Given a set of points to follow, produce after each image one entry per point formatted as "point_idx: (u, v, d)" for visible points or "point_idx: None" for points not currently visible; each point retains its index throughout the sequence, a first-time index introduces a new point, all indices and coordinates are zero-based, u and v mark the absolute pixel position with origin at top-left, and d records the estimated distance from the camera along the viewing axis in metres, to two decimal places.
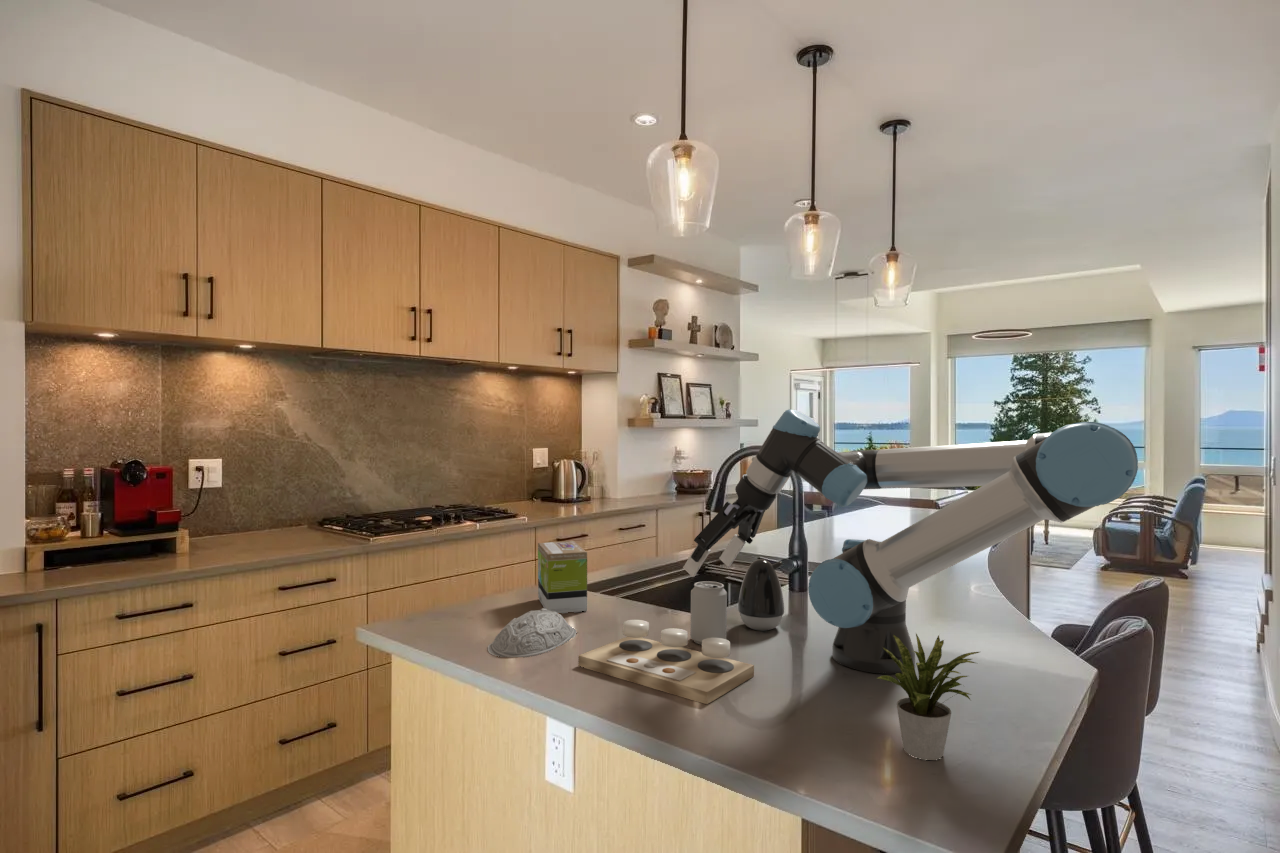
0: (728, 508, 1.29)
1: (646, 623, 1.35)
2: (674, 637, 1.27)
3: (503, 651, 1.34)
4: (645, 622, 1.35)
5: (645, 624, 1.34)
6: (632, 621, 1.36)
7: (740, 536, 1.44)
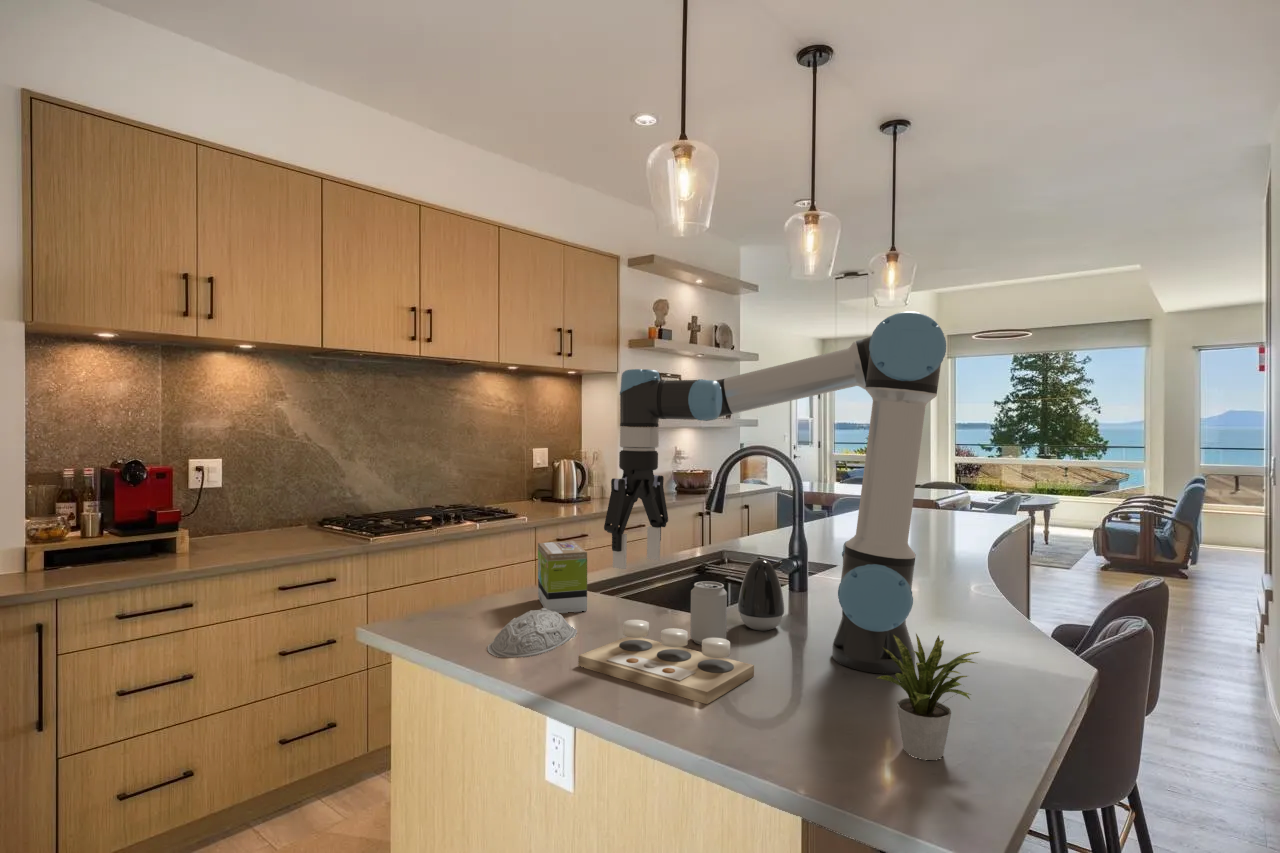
0: (615, 483, 1.29)
1: (646, 623, 1.35)
2: (674, 637, 1.27)
3: (503, 651, 1.34)
4: (645, 622, 1.35)
5: (645, 624, 1.34)
6: (632, 621, 1.36)
7: (653, 525, 1.39)
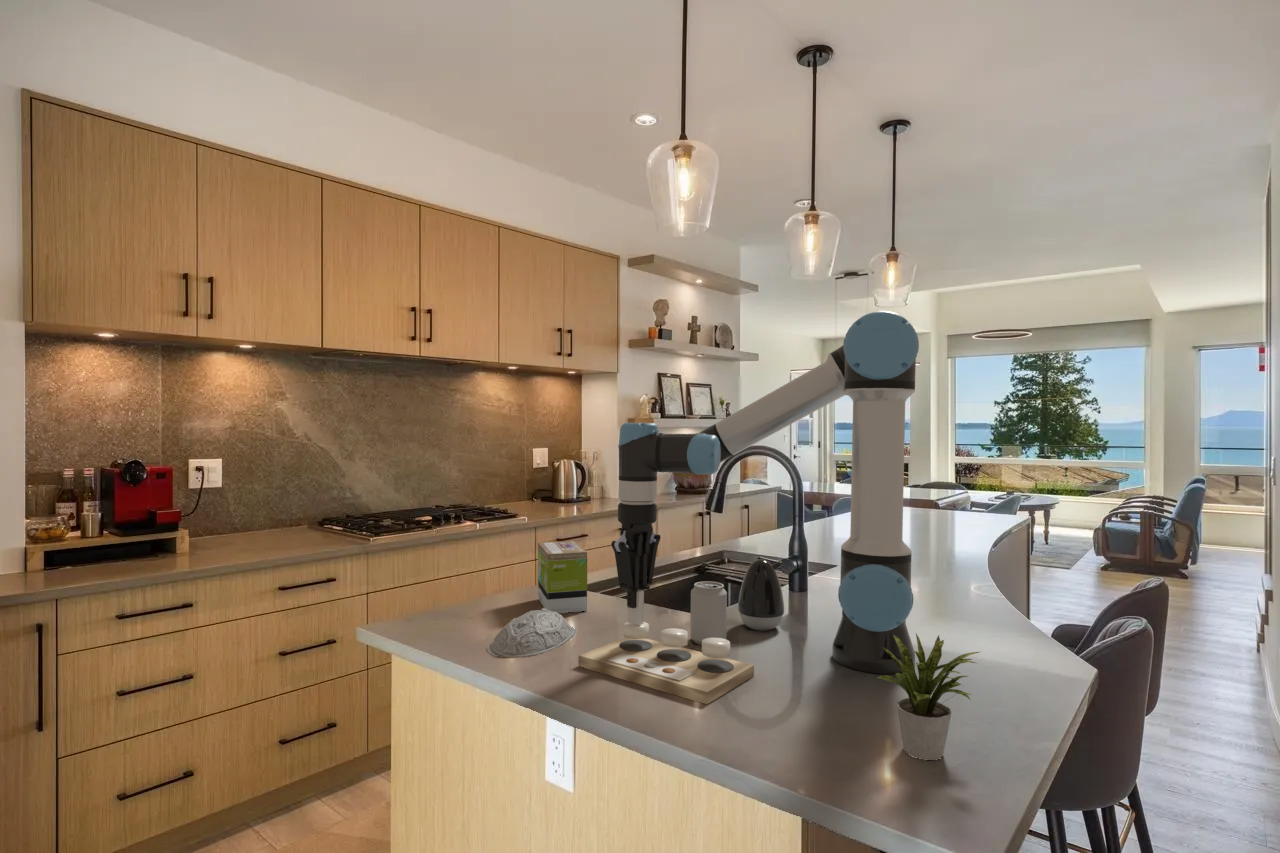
0: (616, 547, 1.30)
1: (646, 624, 1.35)
2: (674, 637, 1.27)
3: (502, 651, 1.34)
4: (645, 623, 1.35)
5: (645, 625, 1.34)
6: None
7: None
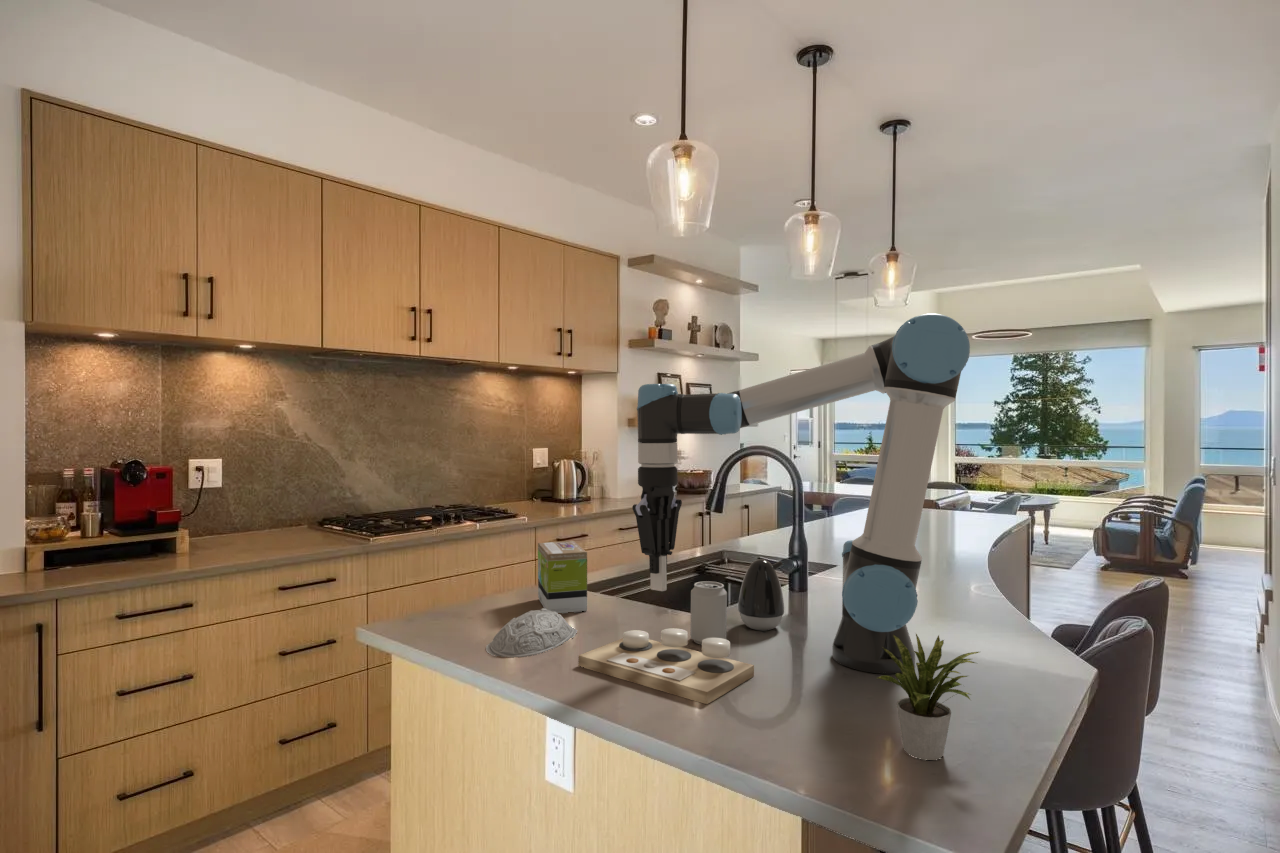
0: (637, 511, 1.27)
1: (646, 634, 1.35)
2: (674, 637, 1.27)
3: (501, 651, 1.34)
4: (645, 633, 1.35)
5: (645, 635, 1.34)
6: (632, 632, 1.36)
7: None
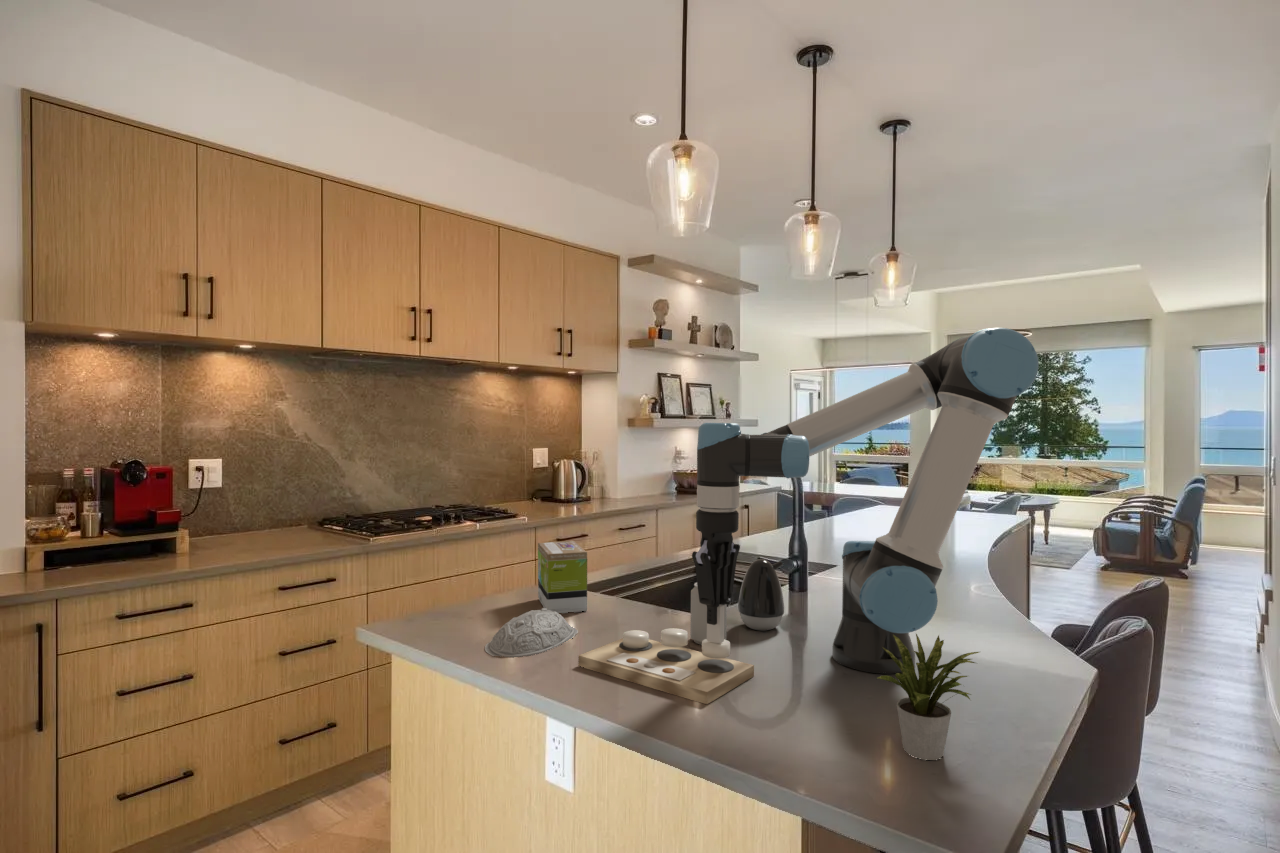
0: (698, 559, 1.19)
1: (646, 634, 1.35)
2: (674, 637, 1.27)
3: (499, 650, 1.35)
4: (645, 633, 1.35)
5: (645, 635, 1.34)
6: (632, 632, 1.36)
7: None
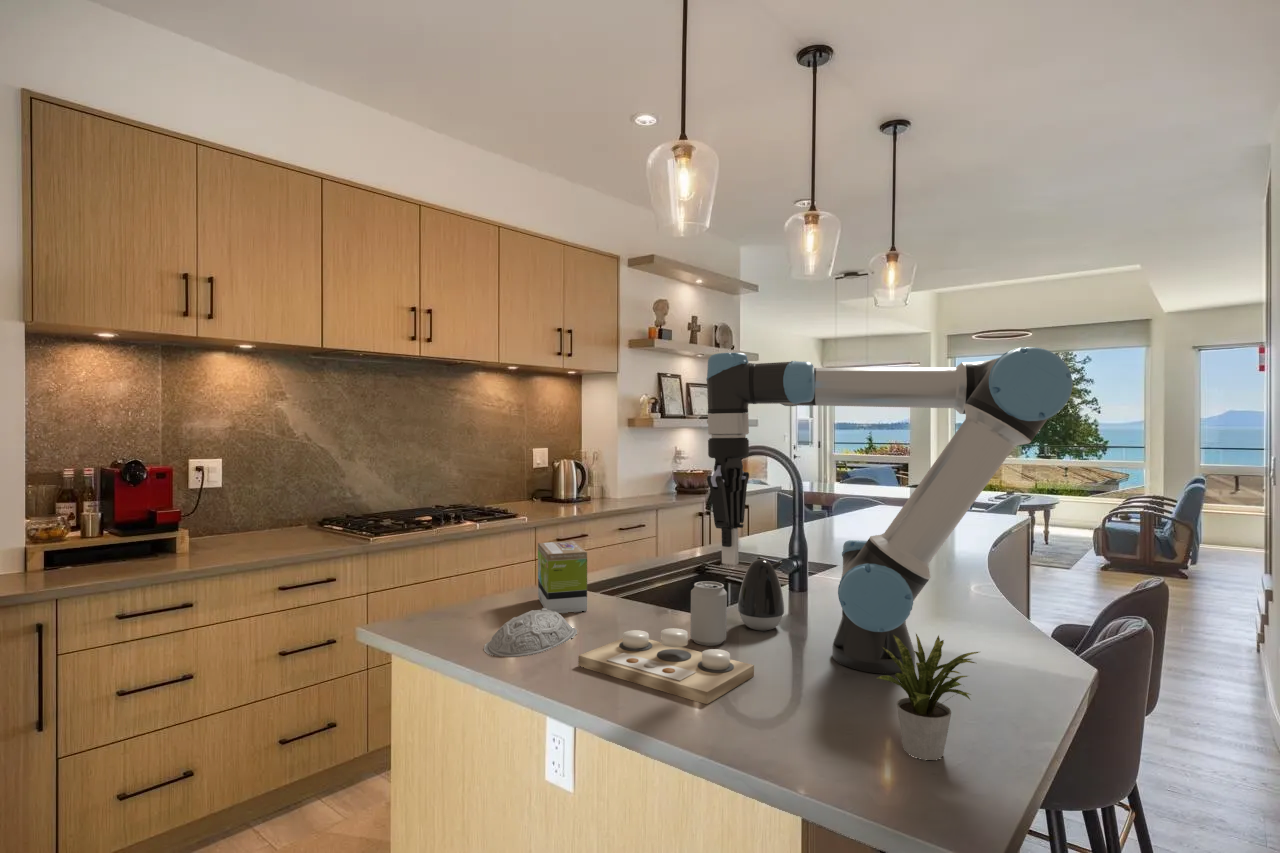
0: (713, 482, 1.24)
1: (646, 634, 1.35)
2: (674, 637, 1.27)
3: (497, 650, 1.35)
4: (645, 633, 1.35)
5: (645, 635, 1.34)
6: (632, 632, 1.36)
7: None
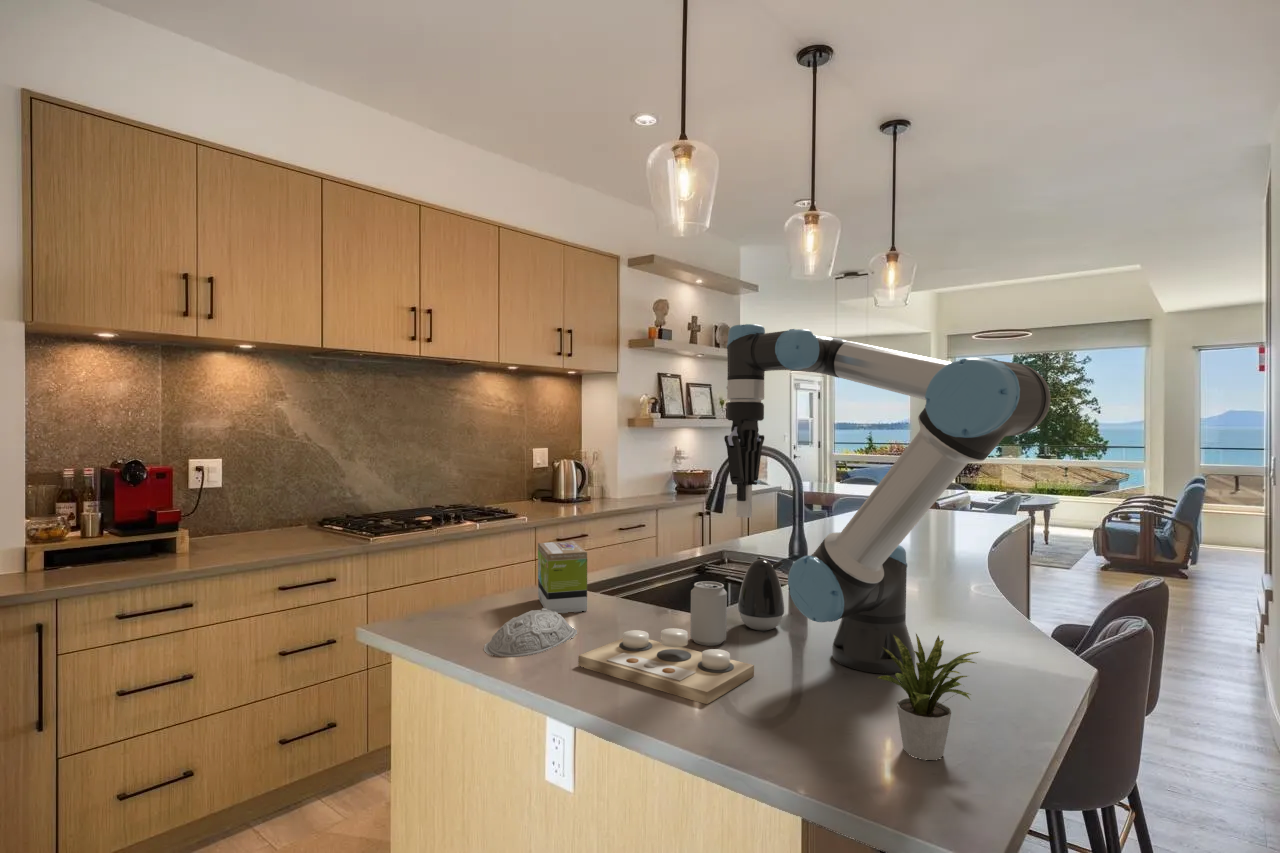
0: (729, 441, 1.37)
1: (646, 634, 1.35)
2: (674, 637, 1.27)
3: (497, 650, 1.35)
4: (645, 633, 1.35)
5: (645, 635, 1.34)
6: (632, 632, 1.36)
7: None
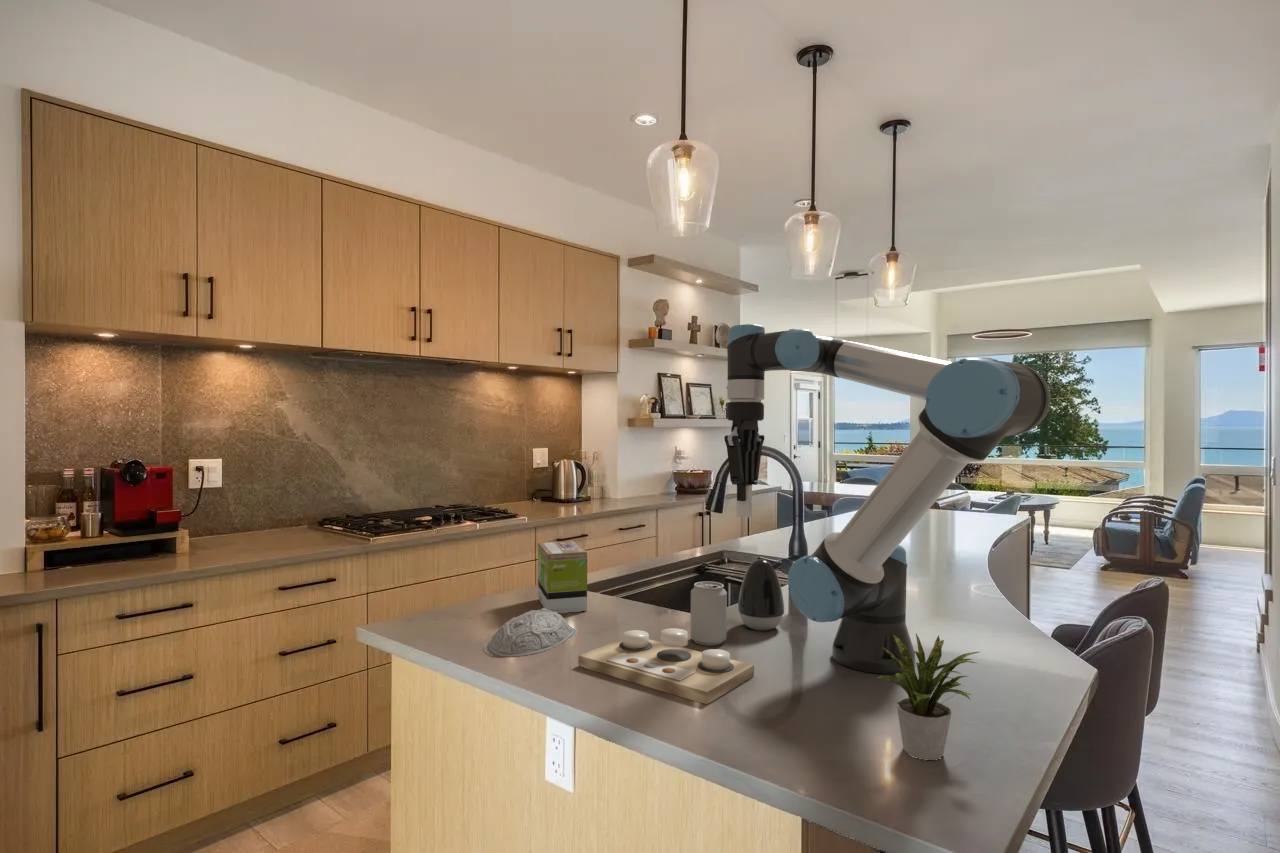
0: (729, 441, 1.37)
1: (646, 634, 1.35)
2: (674, 637, 1.27)
3: (497, 650, 1.35)
4: (645, 633, 1.35)
5: (645, 635, 1.34)
6: (632, 632, 1.36)
7: None
